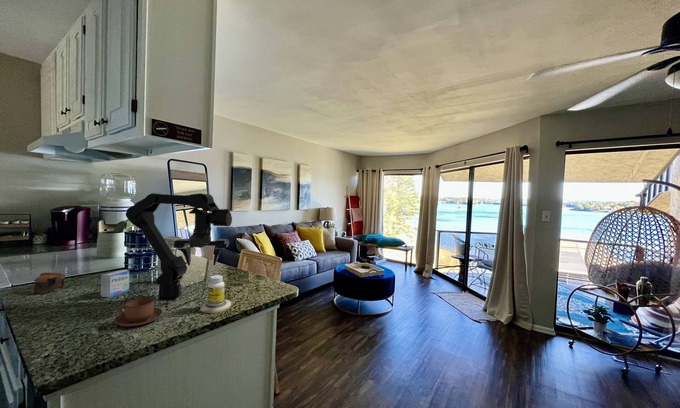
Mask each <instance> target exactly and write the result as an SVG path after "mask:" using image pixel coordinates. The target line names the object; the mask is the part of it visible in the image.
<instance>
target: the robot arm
mask: <svg viewBox="0 0 680 408" xmlns="http://www.w3.org/2000/svg"><path fill="white" fill-rule="evenodd" d="M161 204H167V205H168V204H169V205H182V206H183V205H185V206H188V207H191V208H192V209H191V210H190V211H189V212H188V214H190V215H191V214H193V215H194V228H193V232H192V234H191V236H190V237H189V238H182V239H178V240H176V241H175V242H174V248H177V250H178V251H180V252H181V253H182V254H183V255H179V256H177V255H176V254H175V255H174V254H173V253H172V251H171V249H170V248H169V246H168V244H167V241H165V240H164V236H163V235H162V234H161V232H160V229H158V227H157V226H156V223H155V215H154V212H156V211H157V210H158V208H159V206H160V205H161ZM125 216H126V217H125V218H126V219H127V220H128V221H129V223H131V224H132V225H133V226H134V227H136V228H138V229H139V230H141V233H143V236H144V237H145V239H146V240H147V242H148V244H149V246H150V247H151V248H152V250H153V251H154V253H155V254H156V256H157V258H158V259H159V261H160V264H159V265H160V271H161V274H159V276H158V277H157V278H155V283H156V285H158V286H159V287H158V288H159V290H158V297H157V298H156V300H157V301H173V300H177V299H178V298H179V297H180V296H181V295H182V284H181V281H180V279H182V278H183V277H184V275H186V274H187V271H188V267H190V266H191V262H192V261H191V260H192V259H191V258H192V256H191V255H192V248H199V249H200V248H204V247H205V246H211V247H213V246H214V247H215V248H214V249H213V251H214V256H213V261H212V262H213V266H216V264H217V261H218V259H219V256H220V255H221V252H223V250H224V249H226V248H228V247H229V246H230V240H229V239H228V238H219V239H218V238H217V239H216V240H212V236H211V234H212V225H213V226H214V227H230V226H231V225H232V223H233V217H232V213H231V210H230V208H223V209H221V208H219V207H218V205H217V204H216V202H215V200H214V197H213V196H212V195H211V194H210V193H203V192H202V193H201V192H200V193H192V194H186V195H185V194H184V195H183V194H181V195H180V194H168V193H166V194H165V193H164V194H163V193H157V192H153V193H150V194H148V195H146V196H145V198H142V199H141V200H139V201H138V202H136V203H134V204H133V205H132V206H129V207H128V208H127V209H126V213H125ZM183 256H184V257H183ZM182 280H183V279H182Z"/></svg>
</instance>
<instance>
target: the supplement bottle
mask: <svg viewBox="0 0 680 408" xmlns="http://www.w3.org/2000/svg"><path fill="white" fill-rule="evenodd" d="M224 299H225V282H224V281H223V275H221V274H220V275H219V274H216V275H212V276H210V282H209V283H208V285H207V301H208V305H210V306H218V305H221V304H223V303H224Z"/></svg>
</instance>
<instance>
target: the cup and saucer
mask: <svg viewBox="0 0 680 408" xmlns="http://www.w3.org/2000/svg"><path fill="white" fill-rule="evenodd" d="M154 305H155V299H154V298H153V297H141V298H135V299H132V300H131V299H130V300H129V301H127V302H125V304H121V305H119V307H118V311H119V313H120V314H119V315H118V316H117V317H115V319H114V323H115V324H117V325H119V326H121V327H138V326H142V325H146V324H149V323H151V322H154V321H156V320H157V319H158V318H161V316H162V314H163V310H162V309H161V308H158V307H154ZM122 308H124V311H123V310H122Z"/></svg>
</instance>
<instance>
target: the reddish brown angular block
mask: <svg viewBox="0 0 680 408" xmlns="http://www.w3.org/2000/svg"><path fill="white" fill-rule="evenodd" d="M65 277H66V275H65V274H64V273H59V272H42V273H40V274H39V276H38V277H36V278H34V280H33V281H34V286H33V287H32V288H31V289H30V294H32V295H33V294H48V292H49V289H50V290H51V291H55V290H58V288H59V287H60V286H61V288H63V287H65V286H66V282H65V280H66V279H65Z"/></svg>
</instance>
